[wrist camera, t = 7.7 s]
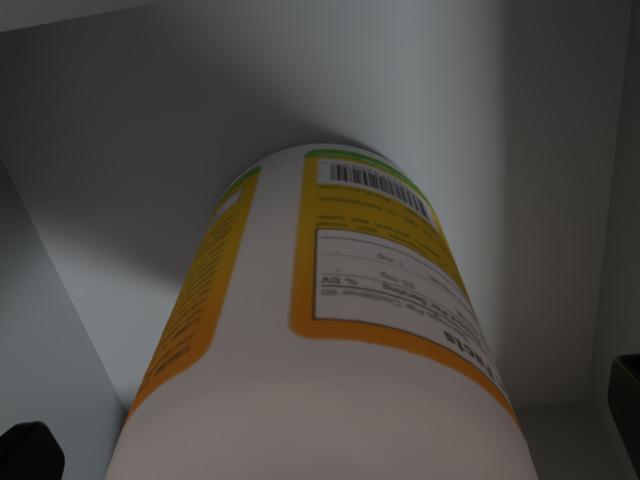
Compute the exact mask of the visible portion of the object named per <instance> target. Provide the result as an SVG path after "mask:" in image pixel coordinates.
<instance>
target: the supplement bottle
mask: <svg viewBox="0 0 640 480" xmlns="http://www.w3.org/2000/svg"><path fill="white" fill-rule="evenodd" d="M105 480H539V479H538V476H537V473H536V471H535V468H534V465H533V462H532V459H531V456H530V453H529V449H528V445H527V442H526V440H525V438H524V436H523V433H522V431H521V428H520V426H519V423H518V421H517V418H516V415H515V413H514V410H513V408H512V405H511V403H510V400H509V398H508V396H507V393H506V390H505V388H504V385H503V383H502V380H501V378H500V375H499V373H498V370H497V367H496V365H495V362H494V360H493V357H492V355H491V352H490V349H489V347H488V344H487V342H486V339H485V337H484V334H483V332H482V329H481V326H480V324H479V321H478V319H477V316H476V314H475V311H474V309H473V306H472V304H471V301H470V299H469V296H468V293H467V291H466V288H465V285H464V283H463V280H462V278H461V275H460V273H459V270H458V268H457V265H456V262H455V260H454V257H453V255H452V252H451V250H450V247H449V245H448V242H447V240H446V237H445V234H444V232H443V229H442V227H441V224H440V222H439V219H438V217H437V215H436V213H435V211H434V209H433V207H432V205H431V203H430V201H429V200H428V198H427V196H426V195H425V194H424V192H423V191H422V190H421V188H420V187H419V186H418V185H417V184H416V183H415V181H414V180H413V179H412V178H411V177H410V176H409V175H407V174H406V173H405V172H404V171H403V170H401V169H400V168H399V167H397V166H396V165H395V164H393V163H391V162H390V161H388V160H387V159H385V158H383V157H381V156H379V155H376V154H374V153H372V152H369V151H366V150H363V149H360V148H356V147H352V146H347V145H340V144H331V143H317V144H307V145H301V146H296V147H291V148H288V149H284V150H281V151H278V152H276V153H274V154H271V155H269V156H267V157H265V158H263V159H261V160H260V161H258V162H256V163H255V164H253V165H252V166H251V167H249V168H248V169H247V170H245V171H244V172H243V173H242V174H241V175H240V176H238V177H237V178H236V179H235V180H234V181H233V182H232V184H231V185H230V186H229V187H228V188H227V190H226V191H225V192H224V194H223V195H222V197H221V198H220V200H219V201H218V203H217V205H216V207H215V209H214V211H213V213H212V215H211V217H210V220H209V222H208V224H207V227H206V229H205V232H204V234H203V237H202V239H201V241H200V244H199V247H198V249H197V252H196V254H195V257H194V259H193V261H192V264H191V266H190V269H189V271H188V274H187V276H186V278H185V281H184V283H183V286H182V288H181V290H180V293H179V295H178V298H177V300H176V303H175V305H174V307H173V310H172V312H171V315H170V317H169V319H168V321H167V323H166V325H165V328H164V330H163V332H162V335H161V337H160V340H159V343H158V345H157V348H156V350H155V352H154V354H153V357H152V359H151V361H150V364H149V366H148V368H147V371H146V373H145V375H144V377H143V379H142V382H141V385H140V387H139V390H138V392H137V394H136V397H135V399H134V402H133V404H132V407H131V409H130V411H129V414H128V416H127V419H126V421H125V424H124V426H123V429H122V432H121V434H120V437H119V439H118V442H117V445H116V447H115V450H114V454H113V457H112V459H111V462H110V465H109V467H108V470H107V473H106V476H105Z"/></svg>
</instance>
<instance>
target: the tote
mask: <svg viewBox="0 0 640 480" xmlns="http://www.w3.org/2000/svg"><path fill="white" fill-rule="evenodd" d="M317 143H331V144H340V145H347V146H352V147H356V148H360V149H363V150H366V151H369V152H372V153H374V154H376V155H379V156H381V157H383V158H385V159H387V160H388V161H390V162H391V163H393V164H395V165H396V166H397V167H399V168H400V169H401V170H403V171H404V172H405V173H406V174H407V175H409V176H410V177H411V178H412V179H413V180H414V181H415V183H416V184H417V185H418V186H419V187H420V188H421V190H422V191H423V192H424V194H425V195H426V196H427V198H428V200H429V201H430V203H431V205H432V207H433V209H434V211H435V213H436V215H437V217H438V219H439V222H440V224H441V227H442V229H443V232H444V234H445V237H446V240H447V242H448V245H449V247H450V250H451V252H452V255H453V257H454V260H455V262H456V265H457V268H458V270H459V273H460V275H461V278H462V280H463V283H464V285H465V288H466V291H467V293H468V296H469V299H470V301H471V304H472V306H473V309H474V311H475V314H476V316H477V319H478V321H479V324H480V326H481V329H482V332H483V334H484V337H485V339H486V342H487V344H488V347H489V349H490V352H491V355H492V357H493V360H494V362H495V365H496V367H497V370H498V373H499V375H500V378H501V380H502V383H503V385H504V388H505V390H506V393H507V396H508V398H509V400H510V403H511V405H512V408H513V410H514V413H515V415H516V418H517V421H518V423H519V426H520V428H521V431H522V433H523V436H524V438H525V440H526V442H527V445H528V449H529V453H530V456H531V459H532V462H533V465H534V468H535V471H536V473H537V476H538V479H539V480H638V478H637V475H636V473H635V470H634V468H633V465H632V463H631V461H630V458H629V456H628V453H627V451H626V449H625V446H624V444H623V441H622V439H621V436H620V434H619V432H618V429H617V427H616V424H615V422H614V420H613V417H612V415H611V412H610V409H609V406H608V401H607V392H608V385H609V378H610V371H611V364H612V360H613V359H614V358H615V357H616V356H619V355H627V354H636V353H640V0H0V436H1V435H2V434H4V433H5V432H6V431H7V430H9V429H10V428H11V427H12V426H14V425H16V424H18V423H23V422H32V421H42V422H44V423H45V424H46V425H47V426H48V427H49V429H50V431H51V432H52V434H53V435H54V437H55V439H56V440H57V442H58V444H59V445H60V447H61V449H62V450H63V452H64V456H65V468H64V472H63V476H62V480H105V476H106V473H107V470H108V467H109V465H110V462H111V459H112V457H113V454H114V450H115V447H116V445H117V442H118V439H119V437H120V434H121V432H122V429H123V426H124V424H125V421H126V419H127V416H128V414H129V411H130V409H131V407H132V404H133V402H134V399H135V397H136V394H137V392H138V390H139V387H140V385H141V382H142V379H143V377H144V375H145V373H146V371H147V368H148V366H149V364H150V361H151V359H152V357H153V354H154V352H155V350H156V348H157V345H158V343H159V340H160V337H161V335H162V332H163V330H164V328H165V325H166V323H167V321H168V319H169V317H170V315H171V312H172V310H173V307H174V305H175V303H176V300H177V298H178V295H179V293H180V290H181V288H182V286H183V283H184V281H185V278H186V276H187V274H188V271H189V269H190V266H191V264H192V261H193V259H194V257H195V254H196V252H197V249H198V247H199V244H200V241H201V239H202V237H203V234H204V232H205V229H206V227H207V224H208V222H209V220H210V217H211V215H212V213H213V211H214V209H215V207H216V205H217V203H218V201H219V200H220V198H221V197H222V195H223V194H224V192H225V191H226V190H227V188H228V187H229V186H230V185H231V184H232V182H233V181H234V180H235V179H236V178H237V177H238V176H240V175H241V174H242V173H243V172H244V171H245V170H247V169H248V168H249V167H251V166H252V165H253V164H255V163H256V162H258V161H260V160H261V159H263V158H265V157H267V156H269V155H271V154H274V153H276V152H278V151H281V150H284V149H288V148H291V147H296V146H301V145H307V144H317Z"/></svg>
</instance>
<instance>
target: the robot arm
mask: <svg viewBox="0 0 640 480" xmlns="http://www.w3.org/2000/svg"><path fill="white" fill-rule="evenodd" d="M607 401H608V406H609V409H610V412H611V415H612V417H613V420H614V422H615V424H616V427H617V429H618V432H619V434H620V436H621V439H622V441H623V444H624V446H625V449H626V451H627V453H628V456H629V458H630V461H631V463H632V465H633V468H634V470H635V473H636V475H637V478H638V480H640V353H636V354H627V355H619V356H616V357H615V358H614V359H613V360H612V364H611V371H610V378H609V385H608V392H607ZM64 468H65V456H64V452H63V450H62V449H61V447H60V445H59V444H58V442H57V440H56V439H55V437H54V435H53V434H52V432H51V431H50V429H49V427H48V426H47V425H46V424H45V423H44V422H42V421H32V422H23V423H18V424H16V425H14V426H12V427H11V428H10V429H9V430H7V431H6V432H5V433H4V434H2V435H1V436H0V480H62V476H63V472H64Z"/></svg>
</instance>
